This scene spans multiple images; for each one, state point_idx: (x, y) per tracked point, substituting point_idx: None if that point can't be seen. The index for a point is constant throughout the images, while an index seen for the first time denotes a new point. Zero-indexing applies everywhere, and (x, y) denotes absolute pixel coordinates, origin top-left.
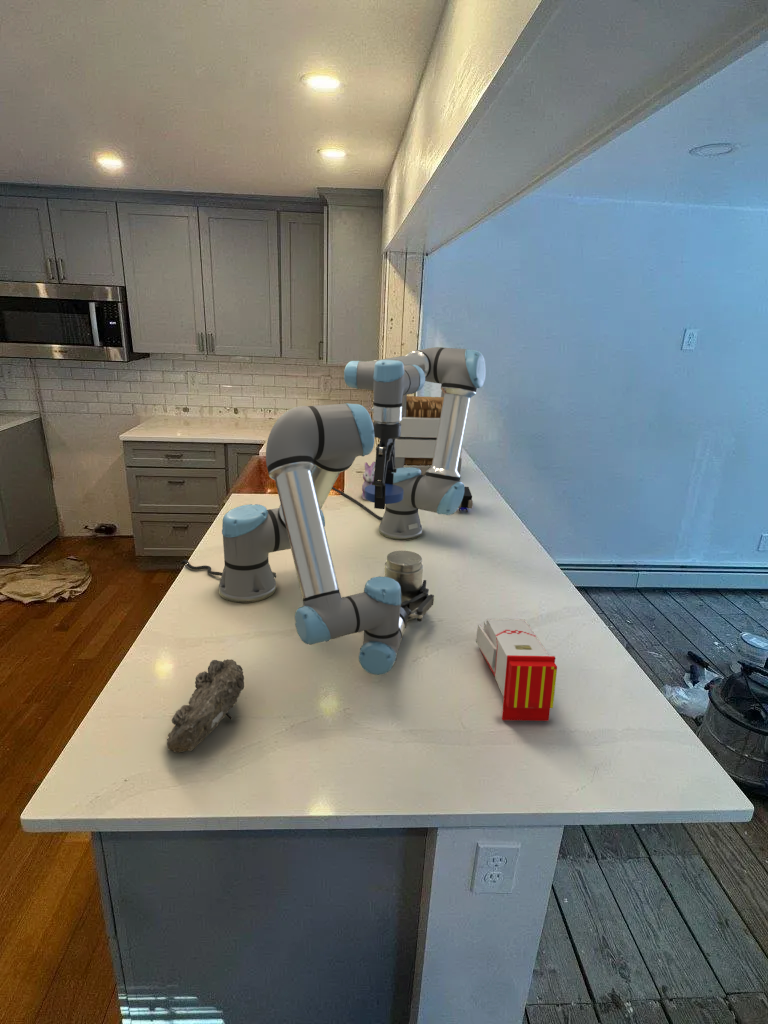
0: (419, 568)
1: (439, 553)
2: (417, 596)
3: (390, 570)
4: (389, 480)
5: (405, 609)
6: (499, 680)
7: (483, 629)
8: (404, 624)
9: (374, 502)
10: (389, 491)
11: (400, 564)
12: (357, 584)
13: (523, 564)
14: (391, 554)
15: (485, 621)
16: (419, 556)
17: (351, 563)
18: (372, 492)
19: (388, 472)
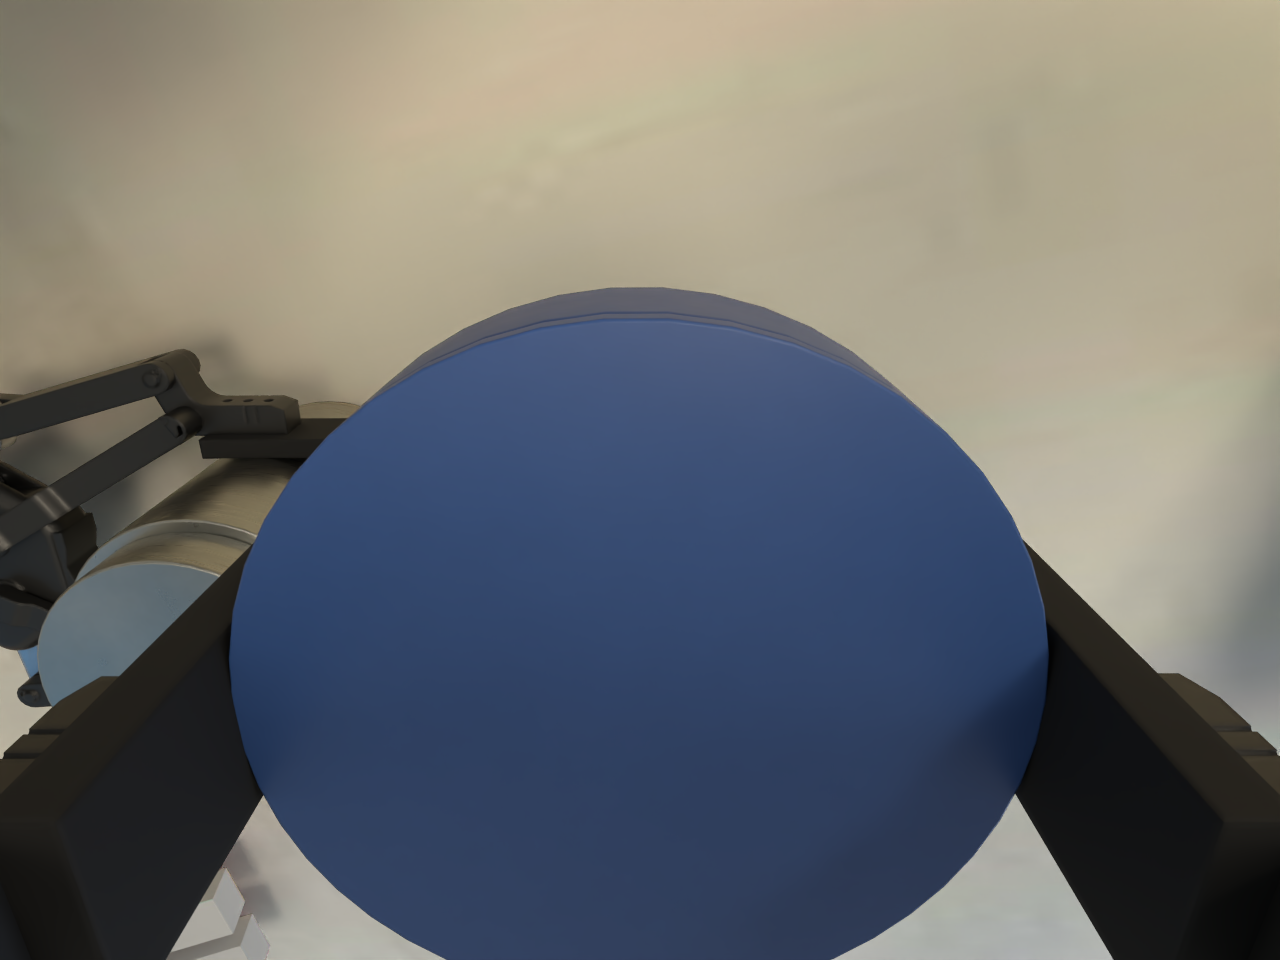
0: None
1: (1125, 588)
2: None
3: (76, 578)
4: (1072, 806)
5: (9, 625)
6: None
7: (224, 869)
8: None
9: (231, 566)
10: (544, 825)
11: (41, 680)
12: (567, 178)
13: (1021, 946)
14: (185, 589)
15: (214, 903)
16: None
17: (884, 41)
18: (343, 555)
19: (1268, 930)
